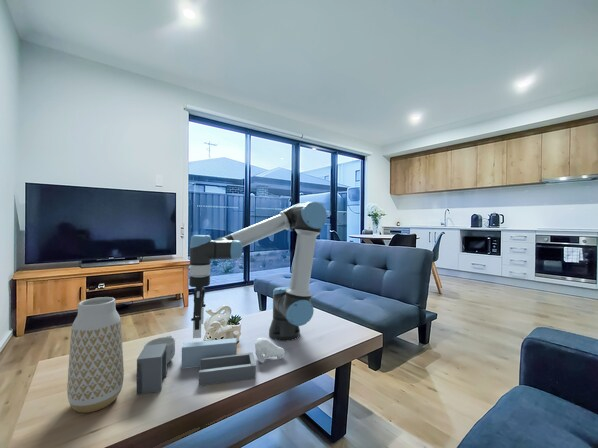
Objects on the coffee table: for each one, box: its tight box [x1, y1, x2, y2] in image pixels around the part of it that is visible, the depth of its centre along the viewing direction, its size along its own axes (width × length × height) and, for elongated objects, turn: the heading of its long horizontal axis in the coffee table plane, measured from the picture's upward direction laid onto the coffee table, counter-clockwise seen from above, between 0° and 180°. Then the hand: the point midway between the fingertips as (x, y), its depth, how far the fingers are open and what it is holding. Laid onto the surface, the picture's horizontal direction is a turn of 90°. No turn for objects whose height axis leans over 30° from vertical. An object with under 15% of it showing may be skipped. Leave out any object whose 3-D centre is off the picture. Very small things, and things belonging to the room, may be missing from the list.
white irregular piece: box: [254, 337, 285, 364], centre depth 111 cm, size 6×8×12 cm
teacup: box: [143, 334, 176, 364], centre depth 109 cm, size 14×11×8 cm
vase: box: [66, 296, 125, 414], centre depth 83 cm, size 14×14×31 cm
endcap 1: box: [136, 343, 168, 395], centre depth 93 cm, size 7×10×11 cm
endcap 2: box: [198, 351, 257, 387], centre depth 100 cm, size 19×10×4 cm, turn 106°
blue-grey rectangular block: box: [181, 337, 238, 369], centre depth 108 cm, size 20×4×8 cm, turn 105°
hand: (198, 330), depth 106 cm, fingers open, 13 cm apart
